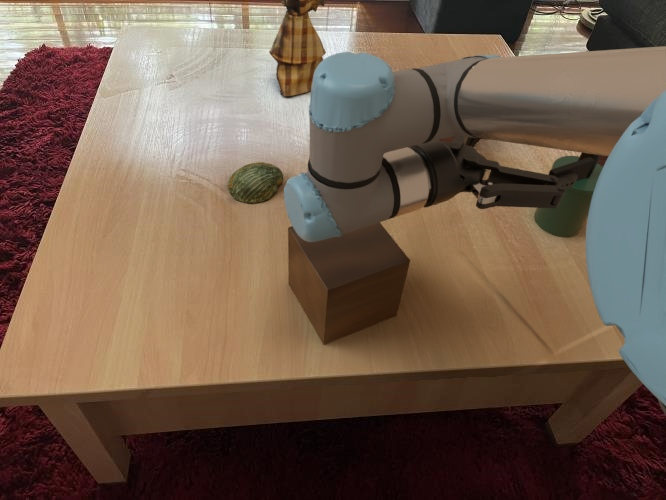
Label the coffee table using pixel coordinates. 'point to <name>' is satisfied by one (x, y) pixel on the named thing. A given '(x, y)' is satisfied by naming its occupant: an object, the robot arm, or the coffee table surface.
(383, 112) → the robot arm
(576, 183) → the lid
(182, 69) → the coffee table surface
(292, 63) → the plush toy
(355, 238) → the stand
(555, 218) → the tin
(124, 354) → the coffee table surface
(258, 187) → the seashell
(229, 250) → the coffee table surface
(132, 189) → the coffee table surface
